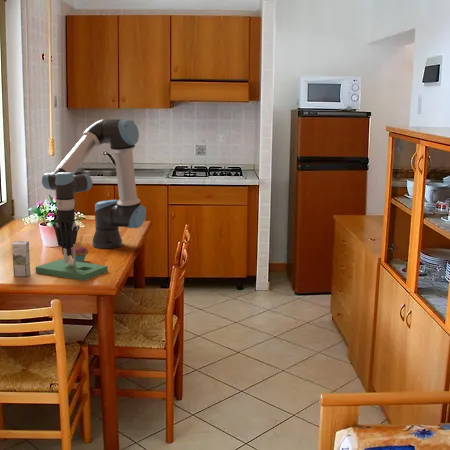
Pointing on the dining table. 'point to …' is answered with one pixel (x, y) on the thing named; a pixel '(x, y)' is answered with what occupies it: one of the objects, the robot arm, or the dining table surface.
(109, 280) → the dining table surface
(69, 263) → the ball
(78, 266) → the putting mat
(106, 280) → the dining table surface
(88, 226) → the dining table surface
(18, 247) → the syrup box
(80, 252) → the cupcake
